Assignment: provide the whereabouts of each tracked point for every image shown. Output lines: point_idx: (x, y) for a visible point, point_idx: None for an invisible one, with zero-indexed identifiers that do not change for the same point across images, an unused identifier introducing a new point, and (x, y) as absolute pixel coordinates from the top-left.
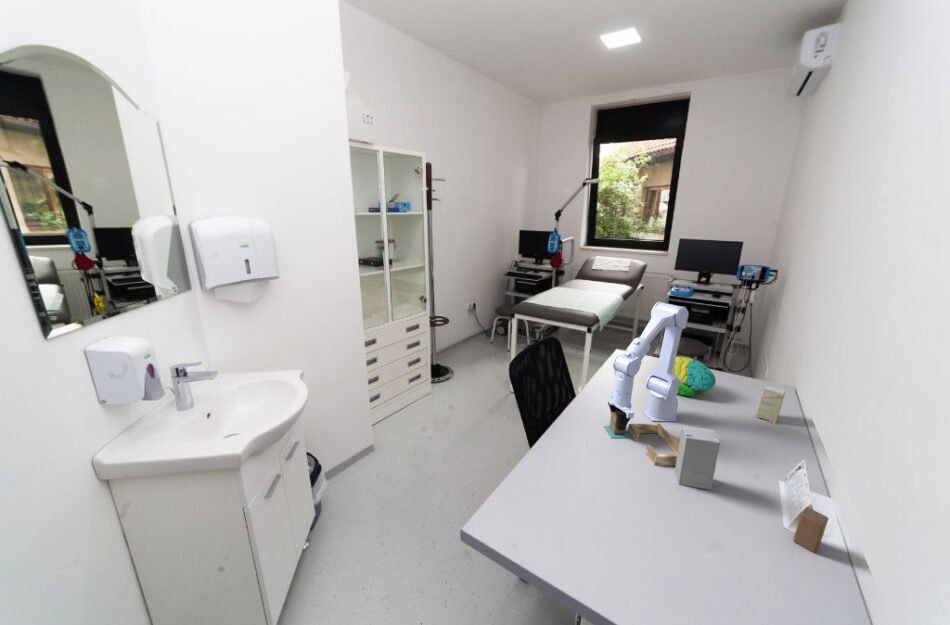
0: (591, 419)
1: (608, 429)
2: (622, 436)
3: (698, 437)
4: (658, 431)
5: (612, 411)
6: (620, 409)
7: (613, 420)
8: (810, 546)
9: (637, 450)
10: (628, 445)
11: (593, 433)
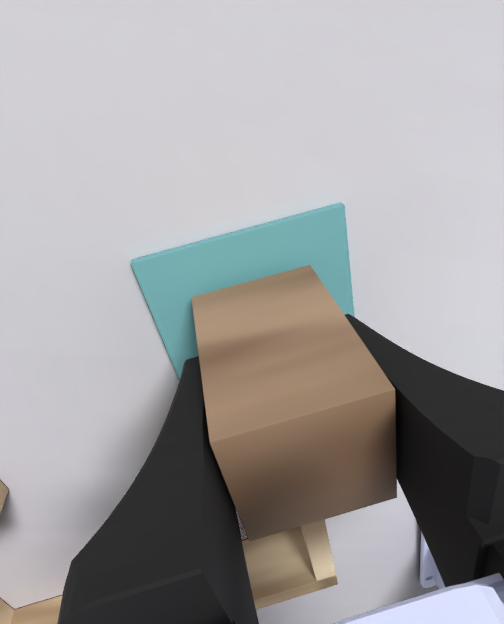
0: (493, 77)
1: (283, 249)
2: (186, 355)
3: None
4: (292, 545)
5: (402, 404)
6: (420, 507)
7: (267, 361)
8: None
9: (17, 434)
10: (65, 384)
11: (172, 52)
